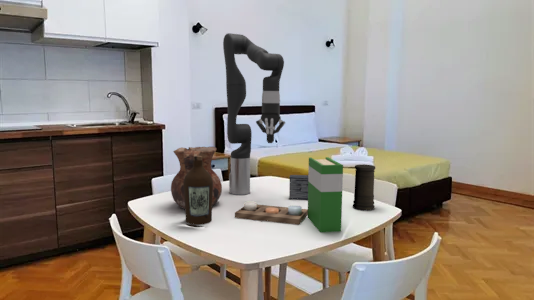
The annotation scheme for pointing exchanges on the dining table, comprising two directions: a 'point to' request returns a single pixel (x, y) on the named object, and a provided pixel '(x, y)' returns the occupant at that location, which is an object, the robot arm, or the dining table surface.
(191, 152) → the brown clay vase
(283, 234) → the dining table surface
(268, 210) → the terracotta button
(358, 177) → the container
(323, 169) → the hardback book
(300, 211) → the pale blue button
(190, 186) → the olive oil
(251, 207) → the white button
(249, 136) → the robot arm
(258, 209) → the brown slotted panel
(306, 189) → the small box
